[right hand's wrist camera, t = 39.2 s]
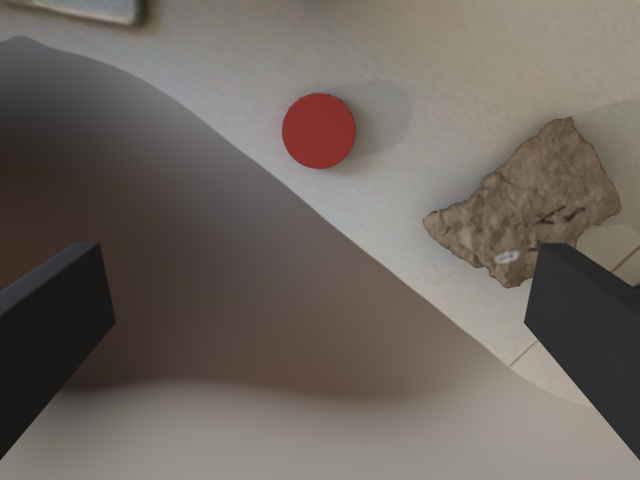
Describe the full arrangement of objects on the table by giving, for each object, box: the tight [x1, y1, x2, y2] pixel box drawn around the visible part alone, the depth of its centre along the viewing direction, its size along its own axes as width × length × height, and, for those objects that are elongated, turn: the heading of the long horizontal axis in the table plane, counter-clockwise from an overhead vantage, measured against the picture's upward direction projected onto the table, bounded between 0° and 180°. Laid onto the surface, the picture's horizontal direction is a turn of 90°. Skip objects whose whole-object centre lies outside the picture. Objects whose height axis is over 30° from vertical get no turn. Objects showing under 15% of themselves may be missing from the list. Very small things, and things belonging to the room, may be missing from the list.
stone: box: [423, 117, 621, 288], centre depth 51 cm, size 21×15×6 cm
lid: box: [282, 93, 355, 169], centre depth 50 cm, size 9×9×2 cm
